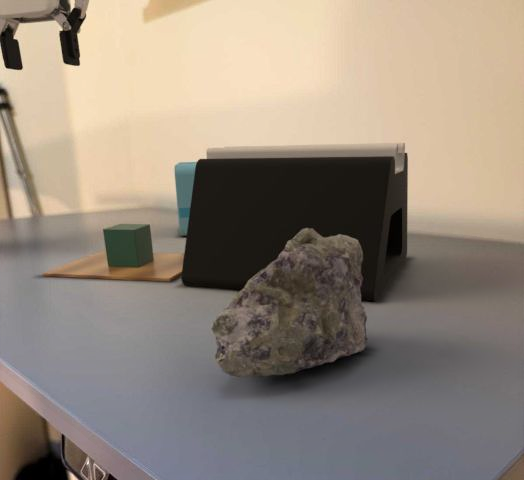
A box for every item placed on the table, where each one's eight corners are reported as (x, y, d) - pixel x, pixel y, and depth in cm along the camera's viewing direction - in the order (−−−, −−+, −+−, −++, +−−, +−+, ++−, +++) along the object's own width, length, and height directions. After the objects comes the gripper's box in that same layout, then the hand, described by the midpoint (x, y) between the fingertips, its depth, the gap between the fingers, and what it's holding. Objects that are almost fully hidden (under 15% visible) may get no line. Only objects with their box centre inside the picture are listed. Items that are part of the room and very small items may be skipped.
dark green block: (107, 266, 73) (102, 229, 71) (124, 259, 77) (120, 223, 75) (138, 267, 71) (134, 229, 70) (154, 260, 76) (150, 224, 74)
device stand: (256, 249, 82) (252, 144, 77) (406, 257, 74) (415, 141, 69) (182, 286, 63) (170, 150, 58) (373, 302, 55) (381, 146, 49)
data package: (205, 236, 94) (201, 164, 90) (179, 237, 94) (173, 165, 90) (207, 226, 105) (203, 161, 101) (184, 227, 105) (178, 162, 101)
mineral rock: (218, 399, 36) (208, 249, 32) (203, 343, 46) (194, 223, 42) (400, 379, 38) (410, 235, 34) (348, 329, 48) (352, 214, 44)
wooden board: (43, 276, 70) (42, 273, 70) (100, 254, 83) (100, 251, 83) (169, 281, 66) (169, 278, 66) (210, 257, 78) (210, 254, 78)
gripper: (-57, -80, 70) (-27, 68, 76) (58, -99, 66) (80, 60, 72) (-15, -62, 77) (10, 73, 83) (92, -77, 72) (109, 66, 79)
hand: (42, 67), depth 78 cm, fingers open, 9 cm apart
